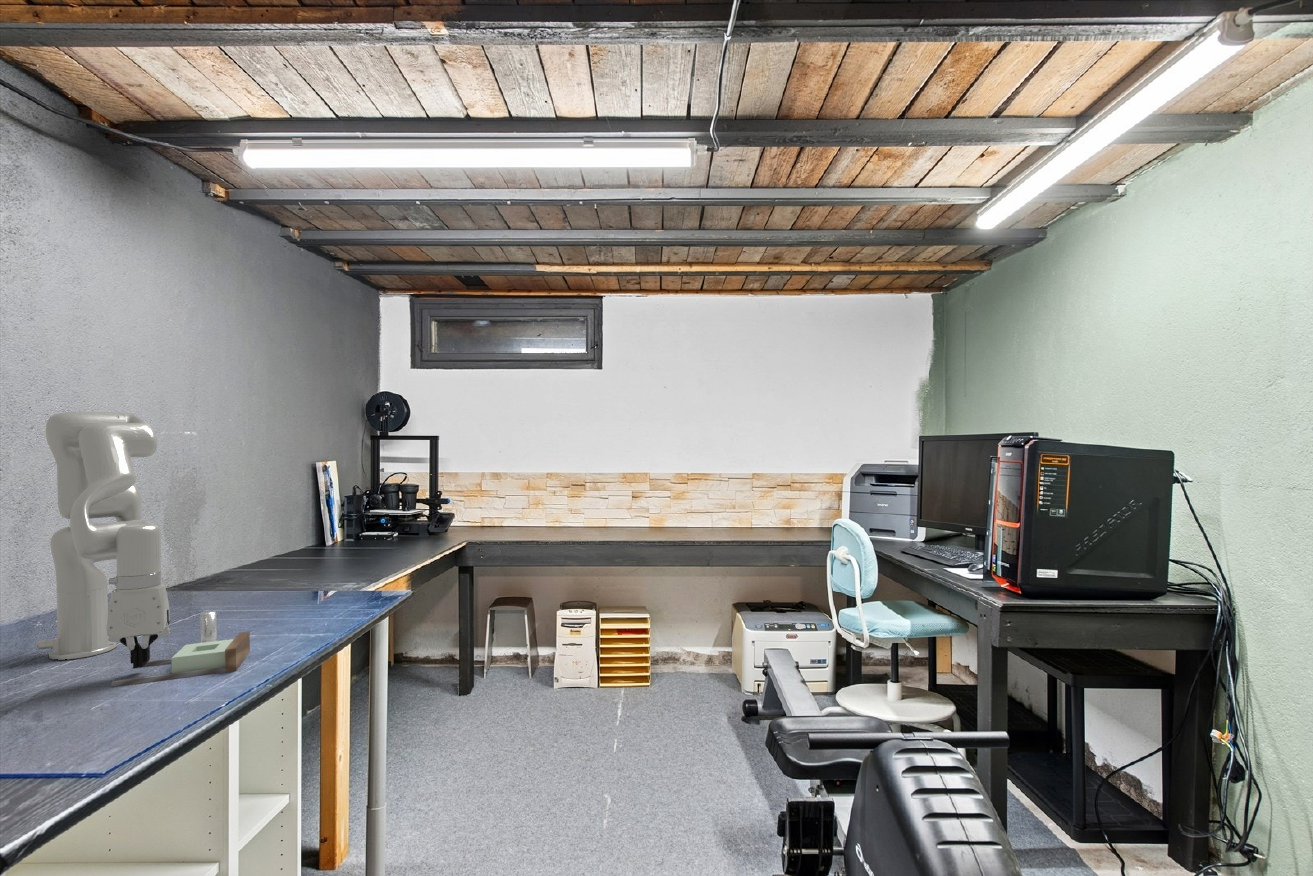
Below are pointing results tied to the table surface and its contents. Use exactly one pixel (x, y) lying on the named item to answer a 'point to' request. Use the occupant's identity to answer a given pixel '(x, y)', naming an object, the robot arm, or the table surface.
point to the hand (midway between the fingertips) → (140, 665)
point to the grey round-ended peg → (208, 626)
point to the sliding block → (200, 656)
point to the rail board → (232, 662)
